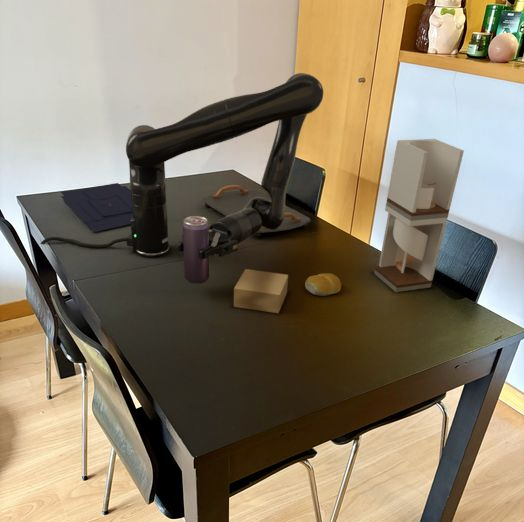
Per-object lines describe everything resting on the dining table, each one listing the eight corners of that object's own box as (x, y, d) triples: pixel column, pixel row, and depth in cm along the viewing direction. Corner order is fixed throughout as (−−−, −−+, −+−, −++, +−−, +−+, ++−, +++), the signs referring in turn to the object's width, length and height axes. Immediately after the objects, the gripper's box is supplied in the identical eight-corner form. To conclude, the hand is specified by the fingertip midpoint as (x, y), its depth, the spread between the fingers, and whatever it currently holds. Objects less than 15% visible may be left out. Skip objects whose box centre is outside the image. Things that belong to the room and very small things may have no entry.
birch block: (233, 306, 131) (233, 288, 128) (244, 286, 140) (245, 268, 137) (278, 313, 129) (279, 294, 126) (286, 292, 138) (288, 274, 135)
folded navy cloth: (123, 189, 195) (122, 179, 193) (164, 225, 178) (164, 215, 176) (55, 200, 182) (54, 190, 180) (93, 240, 165) (92, 229, 163)
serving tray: (196, 204, 189) (195, 186, 186) (252, 195, 201) (252, 178, 197) (257, 243, 163) (258, 223, 160) (317, 230, 174) (319, 211, 171)
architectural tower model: (373, 273, 150) (397, 140, 130) (407, 269, 153) (434, 138, 134) (395, 292, 141) (424, 152, 122) (430, 287, 144) (463, 150, 125)
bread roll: (346, 291, 140) (348, 277, 138) (318, 299, 136) (320, 285, 134) (326, 278, 146) (328, 265, 143) (299, 286, 141) (300, 272, 139)
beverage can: (205, 285, 131) (204, 226, 123) (181, 282, 132) (179, 223, 124) (212, 275, 136) (211, 217, 128) (189, 272, 137) (187, 214, 128)
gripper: (208, 210, 141) (165, 229, 129) (255, 223, 135) (214, 244, 123) (208, 237, 145) (166, 258, 133) (253, 251, 139) (214, 274, 127)
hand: (189, 251), depth 128 cm, fingers closed on beverage can, 6 cm apart
